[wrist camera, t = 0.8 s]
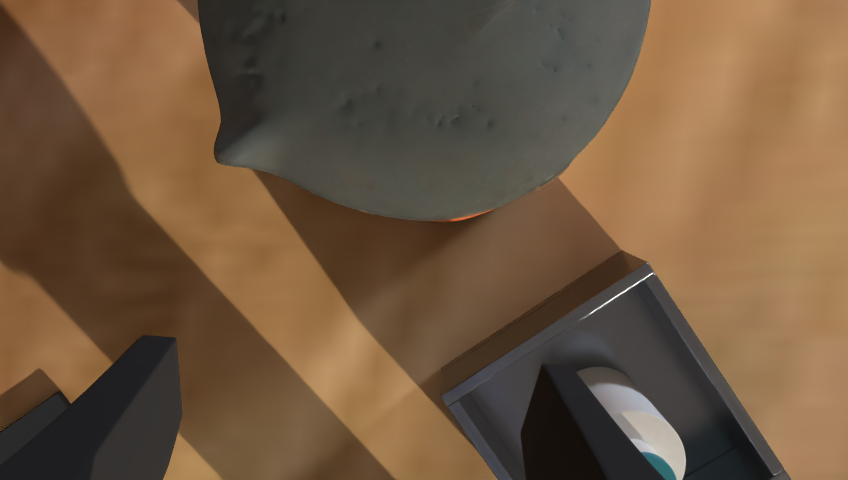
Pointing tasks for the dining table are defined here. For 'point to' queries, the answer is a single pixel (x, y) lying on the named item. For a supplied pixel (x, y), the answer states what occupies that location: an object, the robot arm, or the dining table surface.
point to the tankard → (417, 94)
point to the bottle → (638, 420)
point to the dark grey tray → (614, 348)
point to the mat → (30, 425)
